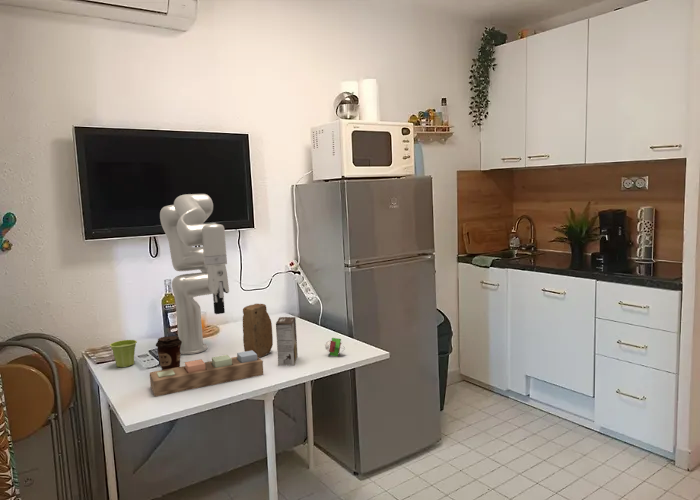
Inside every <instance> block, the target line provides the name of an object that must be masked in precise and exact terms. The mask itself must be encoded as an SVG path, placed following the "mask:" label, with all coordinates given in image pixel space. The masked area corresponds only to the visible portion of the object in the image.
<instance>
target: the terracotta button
mask: <svg viewBox="0 0 700 500" xmlns="http://www.w3.org/2000/svg"><path fill="white" fill-rule="evenodd" d="M184 366H185V370H186V372H187V373H191V372H197V371H202V370H206V368H205V363H204V360H203V359H195V360H190V361H185V362H184Z"/></svg>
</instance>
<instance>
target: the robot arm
mask: <svg viewBox="0 0 700 500" xmlns="http://www.w3.org/2000/svg"><path fill="white" fill-rule="evenodd" d="M213 211H214V203H213V200H212V198H211V197H210V195H208V194H206V193H192V194H191V193H188V194H186V193H185V194H182V195H181V194H180V195H179V196H177V197H176V198H175V199H174V201H173V204H170V205H165V206H163V207H162V208H161V210H160V212H159V219H160V220H159V221H160V225H161V227H162V229H163V231H164V233H165V236H166V238H167V240H168V245H169V251H170V252H169V253H170V259H171V264H172V267H173V269H174V271H176V272H191V271H197V270H198V271H199V270H200V272H195V273H194V272H191V273H184V274H180V275H179V274H178V275H177V276H175V277H174V278H173V279H172V281H171V289H172V293H173V296H174V303H175V313H176V314H175V315H176V324H177V325H176V326H177V336H178V337H179V339H180V340H181V341H182V344H181V348H180V352H181V354H180V355H194V354H198V353H203V352H204V351H207V349H208V345H207V343H206V344H205V343H204V340H203V339H204V338H203V326H202V310H201V309H202V308H201V306H200V304H199V303H198V302H197V301H196V300H195V299H194V298H196V297H200V296H209V295H212V300H213V310H214V311H213V312H214V314H215V315H221V314H225V313H226V312H225V294H229V292H230V288H229V285H230V284H229V279H228V278H229V277H228V273H227V271H228V270H227V264H228V260H227V259H228V258H227V246H226V245H227V244H226V232H225V231H226V230H225V226H224V225H223V224H220V223H215V222H214V223H205V222H206V221H207V220H208V218H209V217H210V216H211V215H212V214H213ZM224 293H225V294H224Z"/></svg>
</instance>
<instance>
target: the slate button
mask: <svg viewBox="0 0 700 500" xmlns="http://www.w3.org/2000/svg"><path fill="white" fill-rule="evenodd" d="M236 357H237V360H238V361H239V362H240V363H245V362H250V361H256V360H257V354H256V353H255V352H254V351H253V350H251V351H240V352H236Z"/></svg>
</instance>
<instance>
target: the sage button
mask: <svg viewBox="0 0 700 500" xmlns="http://www.w3.org/2000/svg"><path fill="white" fill-rule="evenodd" d="M231 358H232V357H231V356H229V355H228V354H224V355H223V354H222V355H218V356H212V357H211V361H212V365H213V367H214V368H218V367H224V366H229V365H232V359H231Z"/></svg>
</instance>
